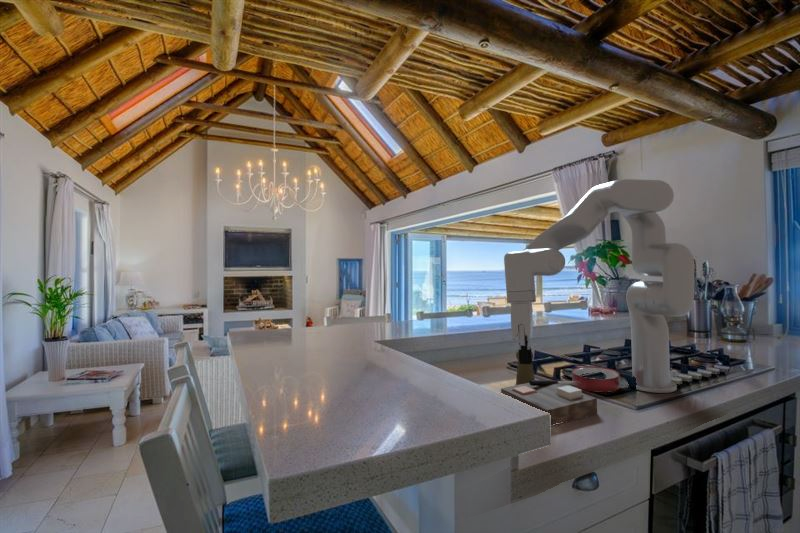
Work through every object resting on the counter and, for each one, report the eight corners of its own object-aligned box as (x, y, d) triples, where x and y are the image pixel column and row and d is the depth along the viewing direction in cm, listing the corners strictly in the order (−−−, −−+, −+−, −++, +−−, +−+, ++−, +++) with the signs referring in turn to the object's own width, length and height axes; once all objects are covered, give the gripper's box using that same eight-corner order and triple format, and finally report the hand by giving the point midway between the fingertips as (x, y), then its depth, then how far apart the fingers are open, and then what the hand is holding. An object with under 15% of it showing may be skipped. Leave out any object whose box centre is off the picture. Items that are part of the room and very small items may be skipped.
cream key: (569, 395, 106) (569, 385, 106) (582, 400, 102) (581, 389, 102) (557, 398, 104) (557, 387, 104) (569, 403, 100) (569, 392, 100)
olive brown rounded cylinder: (537, 387, 121) (535, 352, 121) (516, 387, 123) (515, 352, 122) (534, 381, 127) (533, 347, 127) (515, 381, 129) (513, 347, 128)
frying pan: (559, 413, 102) (558, 388, 102) (520, 398, 113) (519, 376, 113) (629, 387, 118) (628, 366, 118) (589, 377, 129) (588, 358, 129)
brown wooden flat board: (546, 392, 117) (545, 379, 117) (597, 413, 100) (596, 398, 100) (501, 402, 111) (500, 388, 111) (548, 426, 94) (547, 410, 94)
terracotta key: (525, 396, 110) (525, 385, 110) (536, 400, 106) (535, 390, 106) (513, 398, 109) (513, 388, 109) (523, 403, 105) (523, 392, 105)
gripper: (510, 293, 115) (514, 355, 116) (503, 300, 101) (508, 371, 102) (537, 292, 112) (541, 356, 113) (533, 300, 99) (538, 372, 99)
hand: (525, 363), depth 107 cm, fingers closed
